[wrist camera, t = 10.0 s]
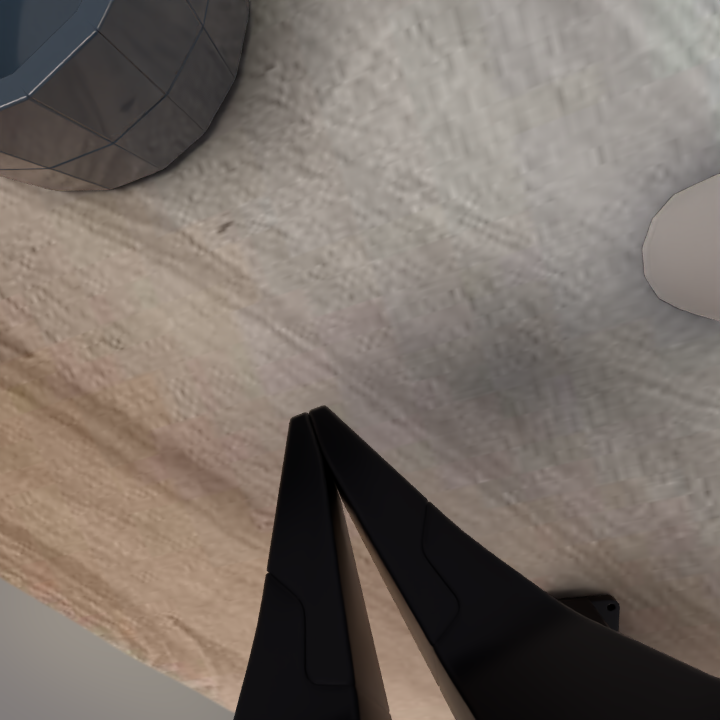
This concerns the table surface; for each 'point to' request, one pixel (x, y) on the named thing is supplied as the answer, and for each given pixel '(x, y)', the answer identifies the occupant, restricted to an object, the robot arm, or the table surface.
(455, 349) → the table surface
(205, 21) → the bowl
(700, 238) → the foam cup
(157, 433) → the table surface
